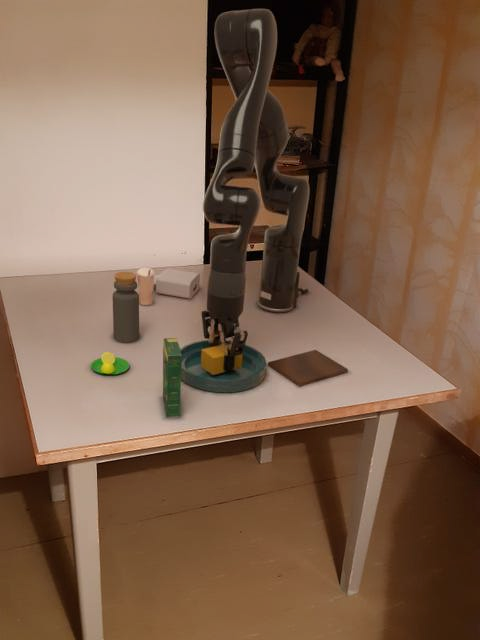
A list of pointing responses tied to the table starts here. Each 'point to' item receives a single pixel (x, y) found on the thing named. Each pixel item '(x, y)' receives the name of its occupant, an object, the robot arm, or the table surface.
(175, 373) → the coffee box
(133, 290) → the bottle
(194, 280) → the charger
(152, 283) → the milkshake
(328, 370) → the board
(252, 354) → the teal plate
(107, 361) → the lemons on green plate
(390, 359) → the table surface
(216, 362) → the block
